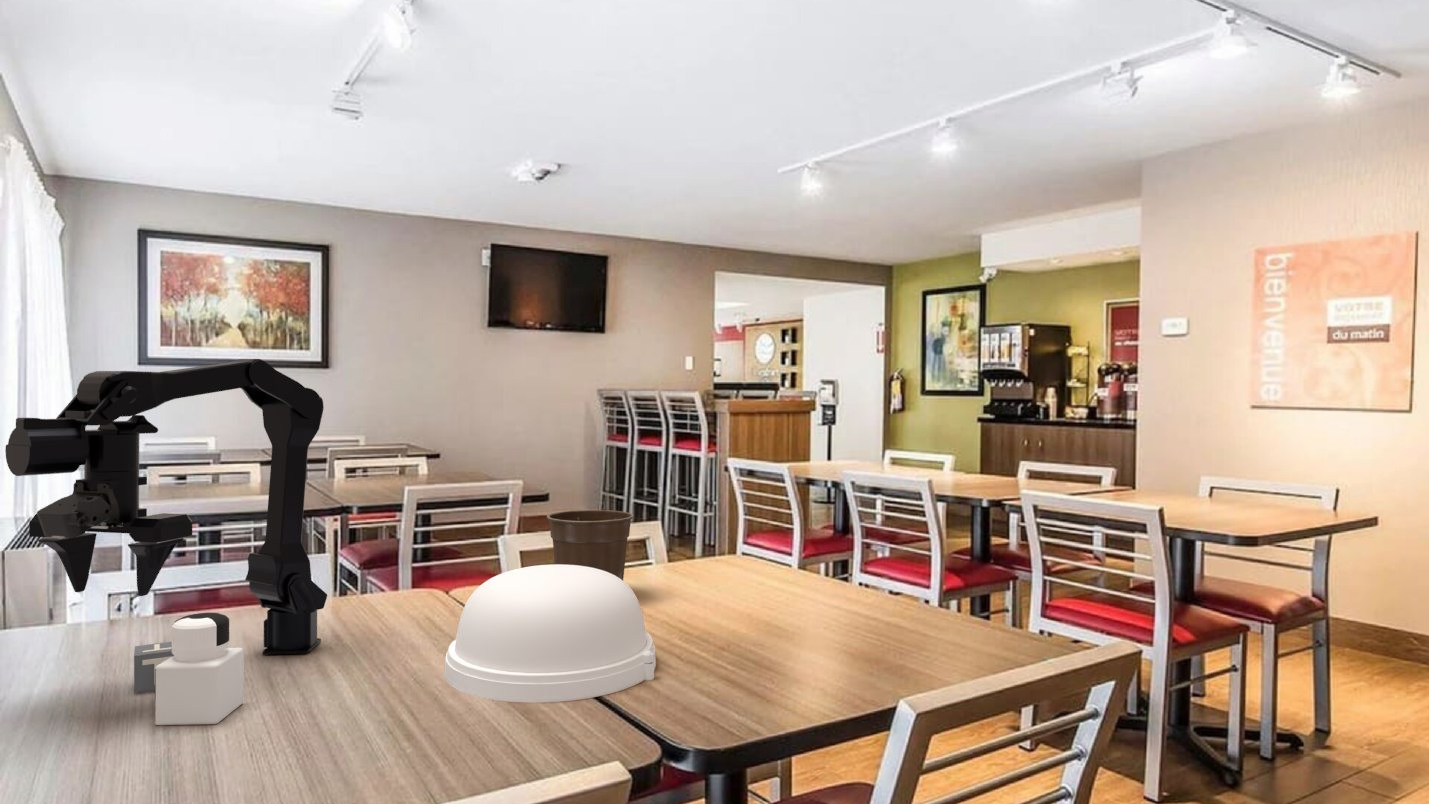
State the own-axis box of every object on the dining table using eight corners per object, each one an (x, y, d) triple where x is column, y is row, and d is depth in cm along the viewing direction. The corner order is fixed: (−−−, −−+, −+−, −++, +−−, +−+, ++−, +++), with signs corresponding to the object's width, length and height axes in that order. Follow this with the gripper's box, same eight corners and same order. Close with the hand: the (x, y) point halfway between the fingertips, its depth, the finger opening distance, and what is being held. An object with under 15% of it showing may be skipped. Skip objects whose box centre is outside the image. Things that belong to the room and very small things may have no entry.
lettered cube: (135, 683, 117) (134, 645, 117) (178, 676, 120) (178, 639, 120) (134, 695, 113) (134, 655, 113) (179, 688, 116) (179, 649, 115)
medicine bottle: (185, 704, 110) (185, 609, 109) (244, 703, 110) (244, 608, 110) (153, 726, 102) (153, 624, 102) (217, 725, 103) (217, 623, 103)
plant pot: (561, 587, 175) (562, 507, 175) (640, 591, 173) (641, 509, 172) (534, 608, 159) (534, 519, 158) (620, 612, 157) (621, 522, 156)
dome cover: (692, 650, 135) (693, 559, 135) (604, 719, 107) (605, 604, 107) (514, 628, 146) (514, 545, 146) (391, 686, 118) (391, 582, 118)
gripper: (-14, 473, 104) (-15, 604, 104) (123, 478, 101) (122, 613, 101) (70, 466, 115) (69, 584, 115) (196, 470, 112) (195, 592, 112)
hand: (111, 593), depth 110 cm, fingers open, 9 cm apart
